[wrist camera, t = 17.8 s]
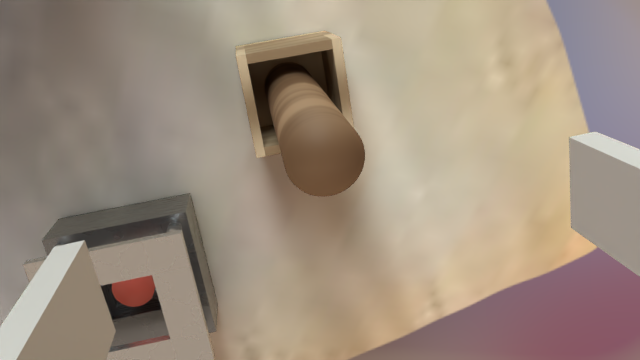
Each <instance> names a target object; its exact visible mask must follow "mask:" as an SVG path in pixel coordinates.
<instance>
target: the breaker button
mask: <svg viewBox="0 0 640 360" xmlns="http://www.w3.org/2000/svg"><path fill="white" fill-rule="evenodd" d="M154 291H155V284H154V280H153V277H152V275H150V276H145V277H140V278H135V279H131V280H126V281H121V282H116V283H112V293H113V295H114V297H115V298H116V300H118V301H119V302H120V303H122V304H124V305H126V306H131V307H136V306H141V305H144V304H145V303H147V302H148V301H149V300H150V299H151V298H152V296H153V294H154Z"/></svg>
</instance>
